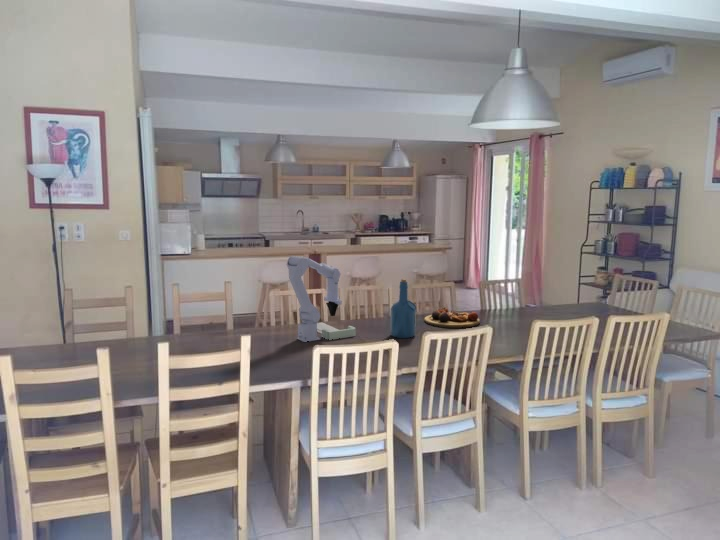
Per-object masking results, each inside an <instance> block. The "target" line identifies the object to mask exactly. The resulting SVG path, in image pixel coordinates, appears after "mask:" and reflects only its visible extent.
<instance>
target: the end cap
mask: <svg viewBox="0 0 720 540" xmlns="http://www.w3.org/2000/svg"><path fill="white" fill-rule="evenodd" d="M356 336H357V328H356V327H354V326H353V325H348V326H347V328H344V329H338V330H337V331H330V332H329V331H327V330H325V329H323V330H322V334H321V338H322V337H323V338H322V339H324V338H325V340H326V339H327V340H328V339H329V341H333V340H337V339H338V340H339V338H340V339H345V338H350V337H351V338H352V337H356ZM332 339H333V340H332Z"/></svg>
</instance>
